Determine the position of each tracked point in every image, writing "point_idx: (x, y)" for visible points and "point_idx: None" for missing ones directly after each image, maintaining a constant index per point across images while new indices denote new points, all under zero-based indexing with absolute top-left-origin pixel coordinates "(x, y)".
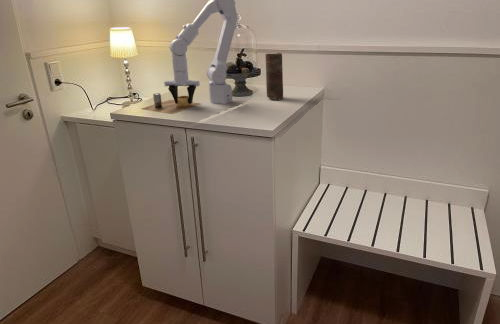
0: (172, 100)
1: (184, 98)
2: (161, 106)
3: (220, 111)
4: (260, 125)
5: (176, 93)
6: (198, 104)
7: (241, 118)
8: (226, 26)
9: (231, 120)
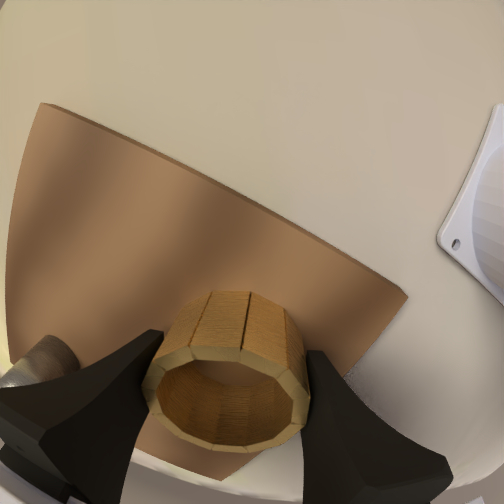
0: (58, 136)
1: (255, 450)
2: (77, 370)
3: (472, 398)
4: (490, 466)
5: (119, 417)
6: (378, 327)
7: (488, 445)
8: None
9: (455, 466)
